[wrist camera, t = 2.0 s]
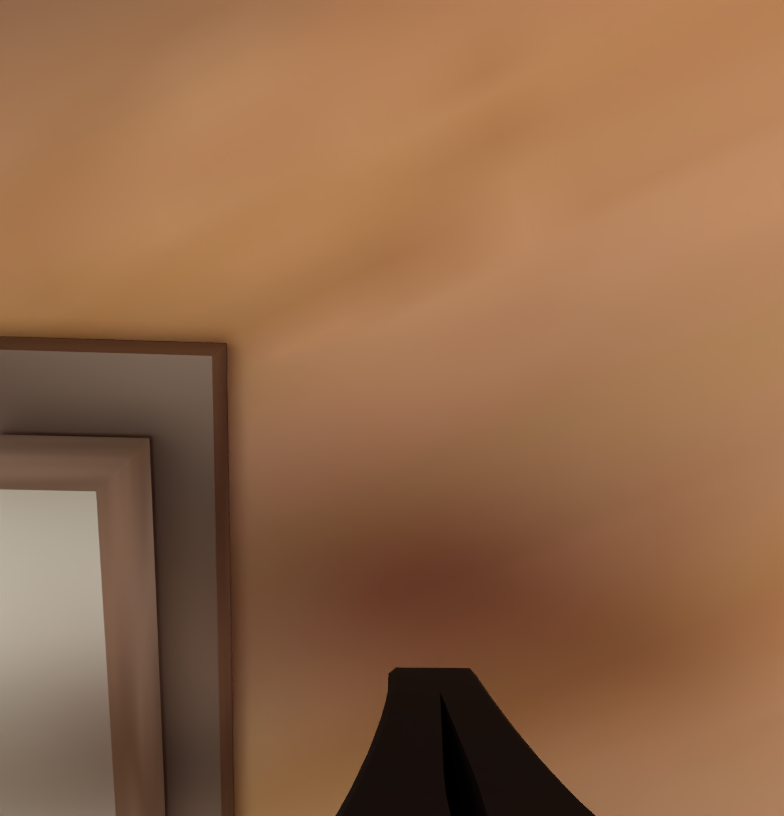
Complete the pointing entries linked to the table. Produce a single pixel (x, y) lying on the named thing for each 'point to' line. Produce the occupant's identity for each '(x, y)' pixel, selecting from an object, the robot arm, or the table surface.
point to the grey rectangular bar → (78, 629)
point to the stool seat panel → (158, 519)
